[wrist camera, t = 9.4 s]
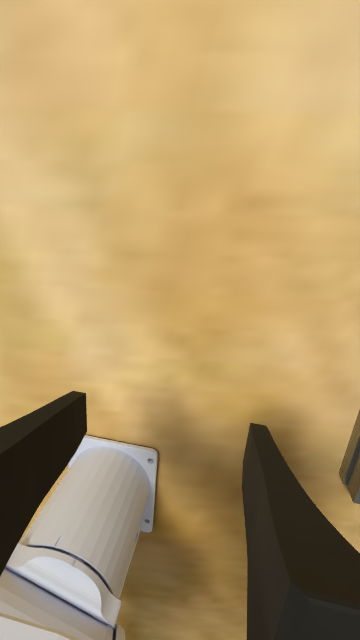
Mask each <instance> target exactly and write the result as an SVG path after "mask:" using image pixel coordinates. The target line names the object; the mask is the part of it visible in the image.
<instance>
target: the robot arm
mask: <svg viewBox="0 0 360 640" xmlns="http://www.w3.org/2000/svg"><path fill="white" fill-rule="evenodd" d="M86 432H87V415H86V393H81V392H76V391H72V392H70V393H68V394H66V395H64V396H62V397H60V398H58V399H56V400H54V401H52V402H51V403H49V404H47V405H45V406H43V407H41V408H39V409H37V410H35V411H34V412H32V413H30V414H28V415H25V416H23V417H21V418H19V419H17V420H15V421H13V422H11V423H9V424H7V425H4V426H2V427H0V640H126V636H125V630H124V628H123V627H122V626H120V625H118V624H116V621H117V617H118V614H119V611H120V607H121V604H122V602H121V600H119V598H120V596H121V592H122V589H123V586H124V583H125V579H126V576H127V573H128V570H129V567H130V563H131V560H132V557H133V554H134V551H135V547H136V544H137V541H138V538H139V534H140V531H142V532H147V533H149V532H151V531H152V528H153V518H154V504H155V489H156V474H157V460H158V453H157V451H156V450H155V449H152V448H147V447H142V446H137V445H132V444H127V443H122V442H117V441H112V440H107V439H102V438H97V437H92V436H88V435H85V434H86ZM150 459H153V460H150ZM67 465H69V469H68V471H67V472H66V474H65V475H64V477H63V478H62V480H61V481H60V483H59V484H58V486H57V487H56V489H55V490H54V492H53V493H52V495H51V496H50V498H49V499H48V501H47V502H46V504H45V505H44V507H43V508H42V510H41V511H40V513H39V514H38V516H37V517H36V519H35V520H34V522H33V523H32V525H31V526H30V528H29V529H28V530H27V532H26V533H25V535H24V536H23V538H22V539H21V541H20V542H19V540H20V538H21V537H22V535H23V533H24V531H25V529H26V528H27V526H28V524H29V522H30V521H31V519H32V517H33V515H34V514H35V512H36V510H37V508H38V507H39V505H40V504H41V502H42V501H43V499H44V497H45V496H46V495H47V493H48V492H49V490H50V489H51V487H52V486H53V485H54V483H55V482H56V480H57V479H58V477H59V476H60V475H61V473H62V472H63V470H64V469H65V467H66V466H67ZM242 490H243V503H244V515H245V527H246V539H247V557H248V587H247V640H360V553H359V552H358V551H357V550H356V549H355V548H354V547H353V546H352V545H351V544H350V543H349V542H348V541H347V540H346V539H345V538H344V537H343V536H342V535H341V534H340V533H339V532H338V531H337V530H336V529H335V527H334V526H333V525H332V524H331V523H330V522H329V521H328V520H327V519H326V518H325V516H324V515H323V514H322V513H321V512H320V510H319V509H318V508H317V507H316V505H315V504H314V503H313V502H312V500H311V499H310V498H309V496H308V495H307V494H306V492H305V491H304V489H303V488H302V487H301V485H300V484H299V482H298V481H297V479H296V478H295V476H294V475H293V473H292V472H291V470H290V468H289V467H288V465H287V463H286V462H285V460H284V458H283V457H282V455H281V453H280V451H279V450H278V448H277V446H276V444H275V442H274V440H273V438H272V436H271V434H270V432H269V430H268V428H267V427H266V426H265V425H259V424H254V423H250V428H249V433H248V438H247V444H246V449H245V454H244V459H243V477H242ZM18 542H19V543H18Z"/></svg>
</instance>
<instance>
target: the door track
mask: <svg viewBox="0 0 360 640" xmlns="http://www.w3.org/2000/svg"><path fill="white" fill-rule="evenodd" d="M339 474H340V477H341V479H342V482H343V484H346V485H347V488H348V490H349V493H350V495H351V498H352V500H353V503H358V504H360V411H359V414H358V417H357V420H356V423H355V426H354V429H353V432H352V435H351V438H350V441H349V444H348V447H347V450H346V453H345V456H344V459H343V462H342V465H341V468H340V471H339Z"/></svg>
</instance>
